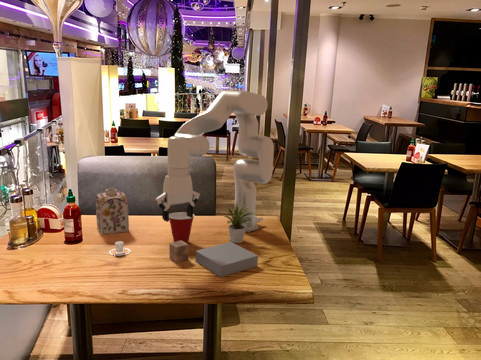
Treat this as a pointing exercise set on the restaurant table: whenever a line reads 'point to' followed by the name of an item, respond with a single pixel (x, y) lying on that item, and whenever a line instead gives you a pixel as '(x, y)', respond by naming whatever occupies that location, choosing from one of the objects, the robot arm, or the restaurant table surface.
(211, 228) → the restaurant table surface
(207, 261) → the grey square slab
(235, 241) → the house plant
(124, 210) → the decorative jar
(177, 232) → the plastic cup
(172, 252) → the walnut block
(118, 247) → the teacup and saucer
